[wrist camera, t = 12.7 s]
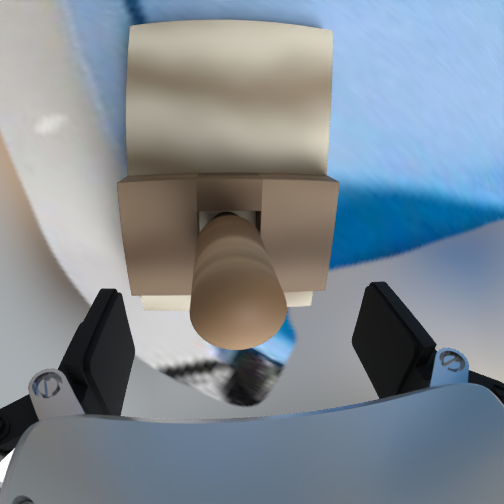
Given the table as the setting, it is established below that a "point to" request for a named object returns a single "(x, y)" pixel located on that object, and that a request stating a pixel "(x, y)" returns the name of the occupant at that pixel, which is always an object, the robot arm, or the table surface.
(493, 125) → the table surface
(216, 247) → the tan rounded cylinder
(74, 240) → the table surface
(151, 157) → the subfloor panel
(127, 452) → the robot arm
